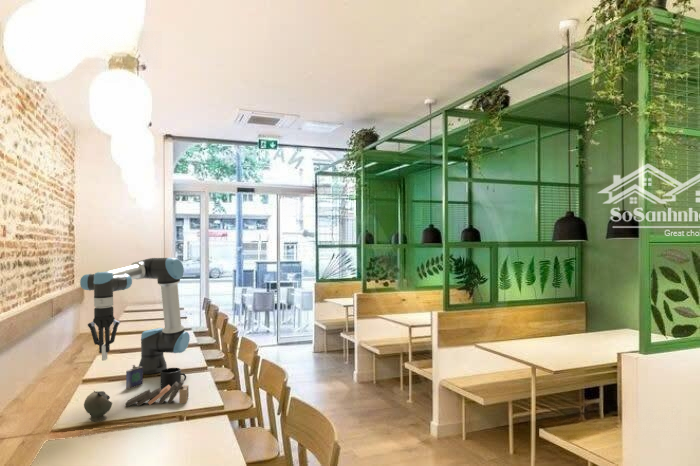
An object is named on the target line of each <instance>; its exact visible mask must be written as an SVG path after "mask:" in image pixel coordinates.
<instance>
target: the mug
mask: <svg viewBox="0 0 700 466" xmlns="http://www.w3.org/2000/svg"><path fill="white" fill-rule="evenodd" d="M181 370H182V369H181V368H180V367H167V369H163V370H161V372H159V373H160V374H159V375H160V389H161V390H162V389H163V388H165V387H166V386H167V385H170V386H172V385H173V384H174V383H175V382H176V381H177V382H178V383H180V381H181V379H182V376H184V379H183V380H185V381H186V380H187V375H186V373H183V372H182V371H181Z"/></svg>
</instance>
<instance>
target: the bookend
mask: <svg viewBox="0 0 700 466" xmlns="http://www.w3.org/2000/svg"><path fill="white" fill-rule="evenodd" d="M178 393H179V400H178V402H179V403H180V404H186V402H188V399H189V398H188V397H189V393H190V392H189V384H183V385H182V387H181V388H180V390H179V391H178ZM179 403H178V404H179Z"/></svg>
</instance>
